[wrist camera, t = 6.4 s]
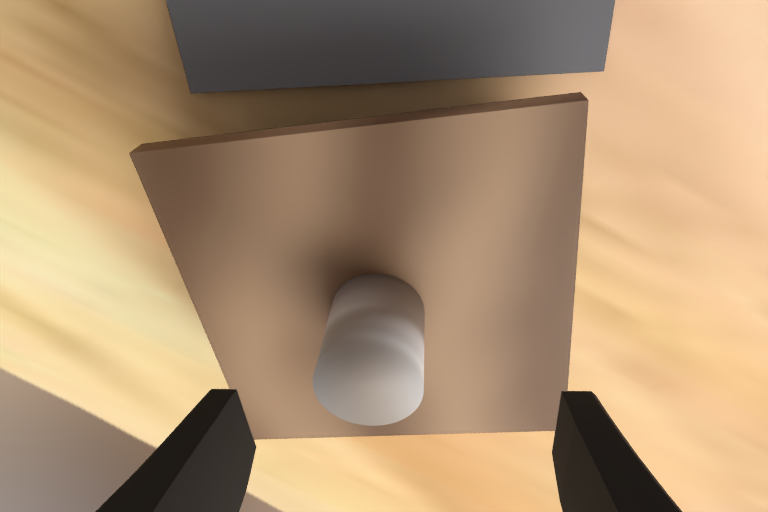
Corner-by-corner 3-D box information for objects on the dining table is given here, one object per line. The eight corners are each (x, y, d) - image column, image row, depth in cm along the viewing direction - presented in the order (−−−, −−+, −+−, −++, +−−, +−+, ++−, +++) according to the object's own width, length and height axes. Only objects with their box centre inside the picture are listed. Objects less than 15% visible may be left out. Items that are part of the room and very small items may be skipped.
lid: (580, 92, 14) (634, 148, 10) (559, 414, 21) (588, 516, 17) (142, 143, 16) (55, 207, 12) (256, 424, 22) (223, 518, 19)
